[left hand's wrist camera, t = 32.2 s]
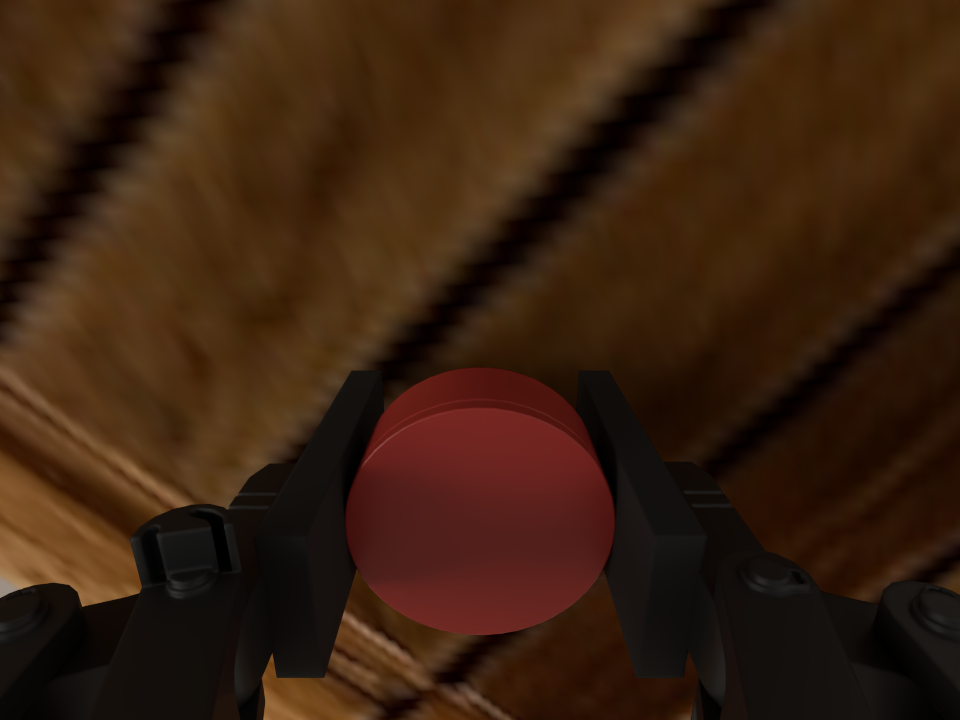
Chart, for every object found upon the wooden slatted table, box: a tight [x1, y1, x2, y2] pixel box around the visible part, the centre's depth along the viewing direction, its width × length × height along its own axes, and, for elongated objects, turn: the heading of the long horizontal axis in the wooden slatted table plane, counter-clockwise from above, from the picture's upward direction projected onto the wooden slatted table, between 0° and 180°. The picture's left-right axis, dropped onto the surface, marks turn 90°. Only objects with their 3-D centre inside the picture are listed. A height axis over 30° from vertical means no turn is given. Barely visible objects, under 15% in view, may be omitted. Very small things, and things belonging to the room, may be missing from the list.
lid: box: [345, 367, 616, 635], centre depth 11 cm, size 5×5×2 cm
